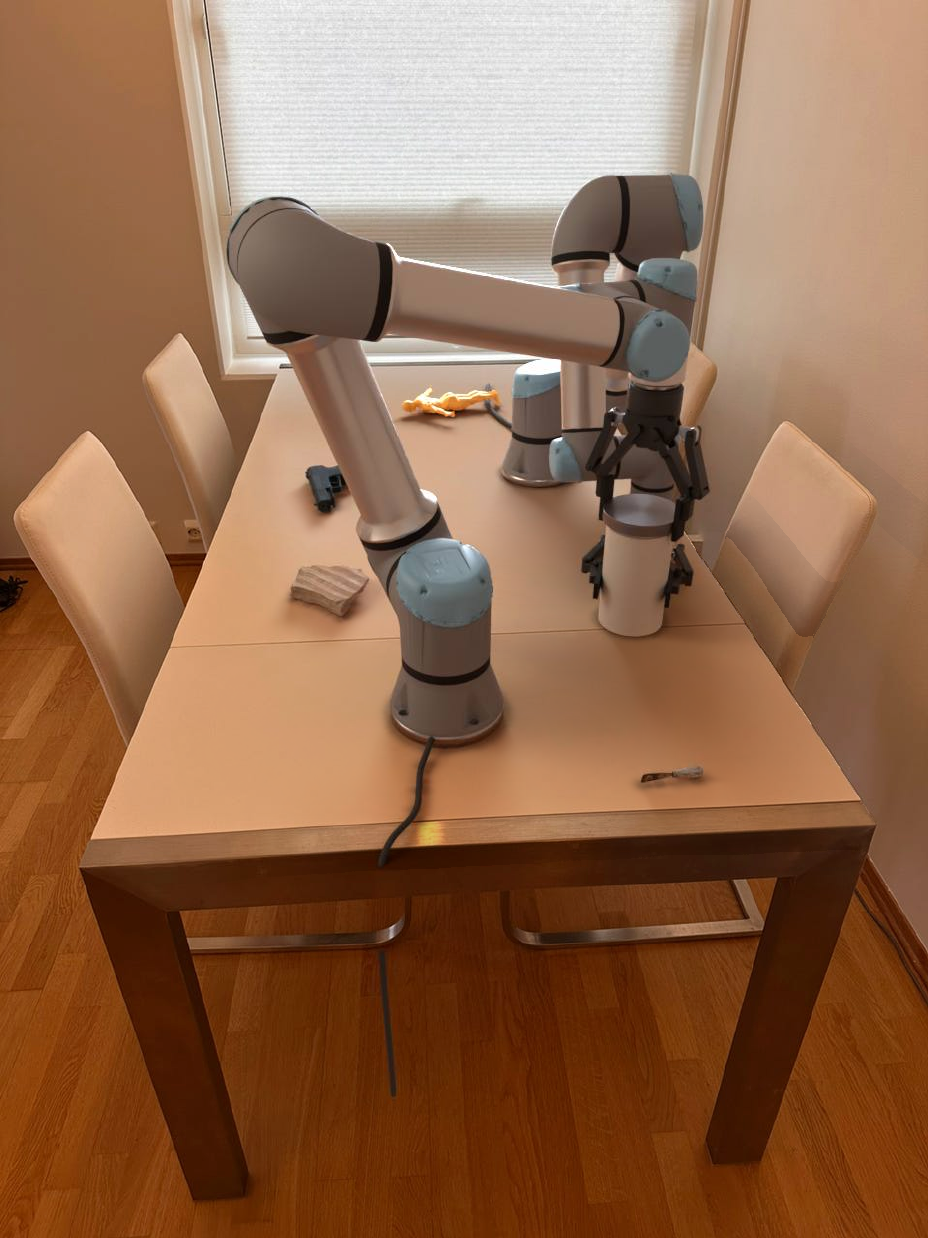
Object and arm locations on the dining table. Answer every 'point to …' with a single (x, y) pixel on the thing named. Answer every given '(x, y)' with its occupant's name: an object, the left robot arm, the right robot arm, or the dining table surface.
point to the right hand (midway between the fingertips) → (631, 595)
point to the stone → (329, 586)
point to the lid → (639, 515)
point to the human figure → (448, 402)
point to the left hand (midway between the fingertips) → (640, 527)
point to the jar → (634, 583)
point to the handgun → (325, 485)
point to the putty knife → (674, 774)
